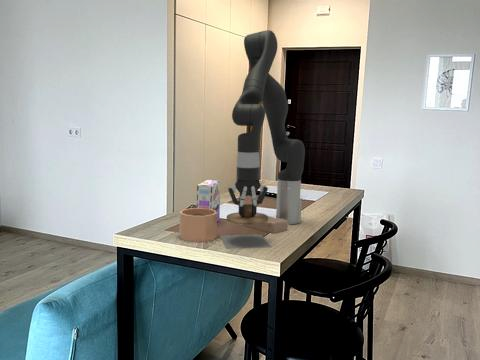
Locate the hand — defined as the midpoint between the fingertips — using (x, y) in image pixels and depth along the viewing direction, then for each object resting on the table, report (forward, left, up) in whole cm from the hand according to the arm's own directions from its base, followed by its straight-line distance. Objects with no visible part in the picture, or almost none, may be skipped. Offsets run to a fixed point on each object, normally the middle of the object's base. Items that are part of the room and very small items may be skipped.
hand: (247, 216), depth 156 cm
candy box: (+10, -26, -9) cm, 29 cm away
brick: (-10, -17, -10) cm, 22 cm away
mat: (+1, 0, -9) cm, 9 cm away
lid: (0, 0, -1) cm, 1 cm away
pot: (+16, -8, -9) cm, 20 cm away
